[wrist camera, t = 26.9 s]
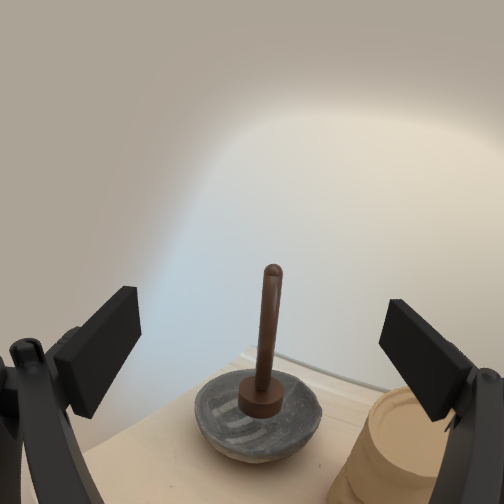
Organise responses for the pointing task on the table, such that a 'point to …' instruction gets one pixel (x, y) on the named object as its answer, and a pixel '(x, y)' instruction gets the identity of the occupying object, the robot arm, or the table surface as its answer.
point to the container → (393, 454)
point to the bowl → (256, 430)
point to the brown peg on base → (265, 355)
